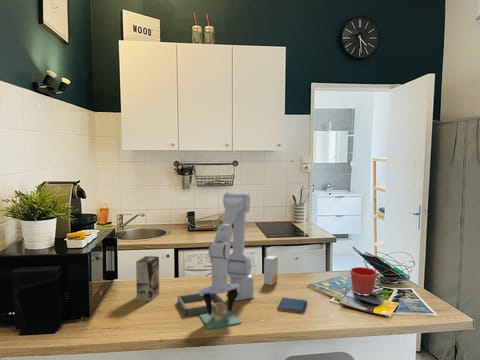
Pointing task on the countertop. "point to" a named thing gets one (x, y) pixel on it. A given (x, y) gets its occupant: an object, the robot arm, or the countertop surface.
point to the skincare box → (270, 269)
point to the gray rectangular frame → (200, 308)
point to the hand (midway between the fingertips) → (219, 312)
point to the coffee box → (147, 278)
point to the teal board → (214, 324)
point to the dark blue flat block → (292, 305)
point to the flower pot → (363, 280)
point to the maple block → (219, 311)
